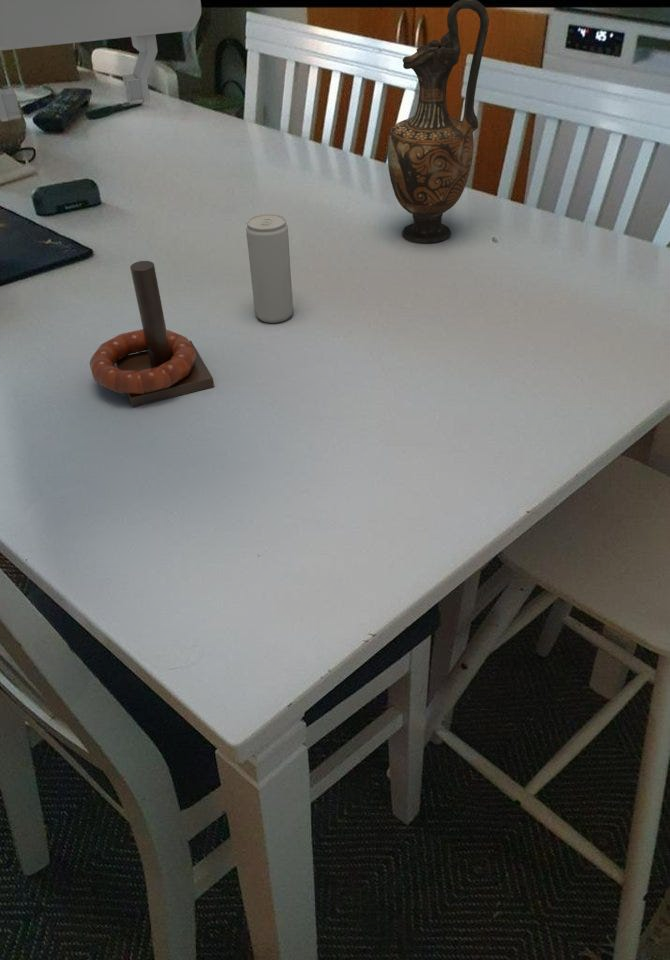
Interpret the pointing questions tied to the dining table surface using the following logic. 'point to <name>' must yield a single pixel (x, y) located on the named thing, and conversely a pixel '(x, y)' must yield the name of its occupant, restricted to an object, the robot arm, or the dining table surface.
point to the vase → (435, 134)
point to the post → (158, 341)
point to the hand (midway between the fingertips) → (76, 110)
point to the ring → (142, 379)
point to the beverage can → (270, 267)
